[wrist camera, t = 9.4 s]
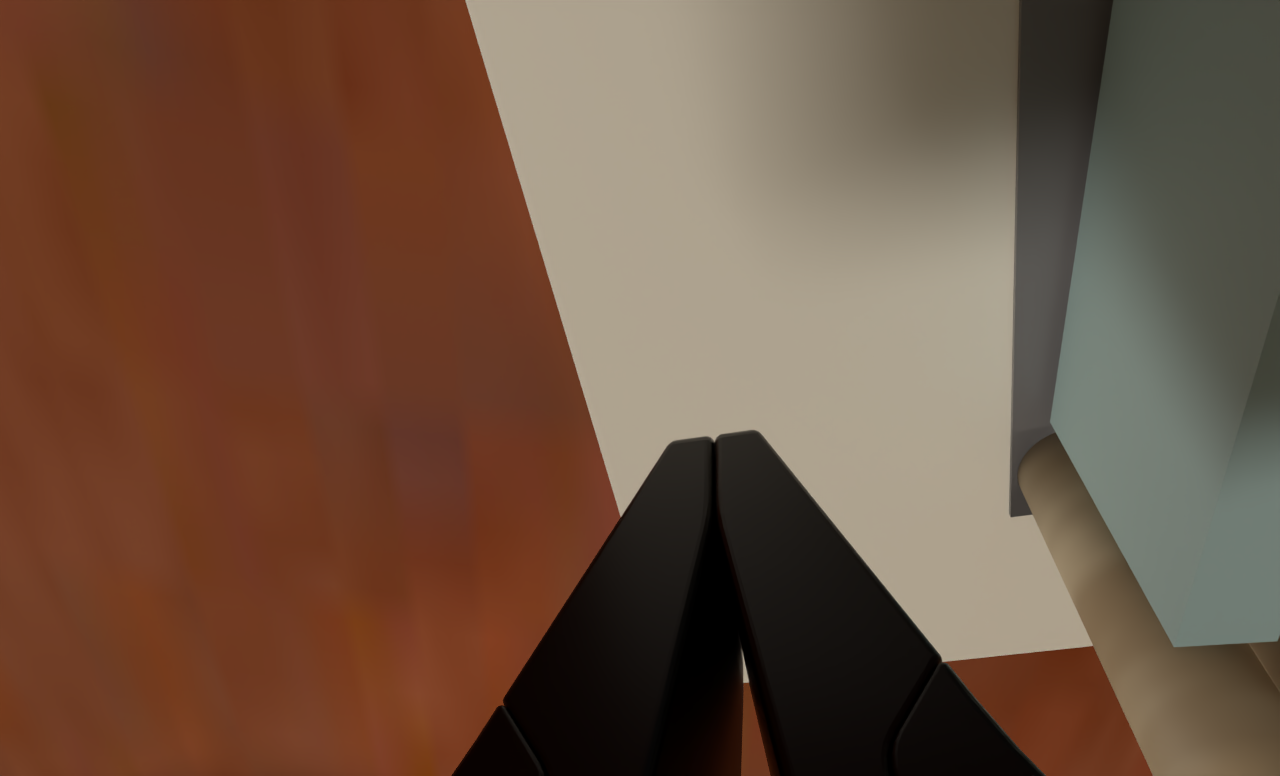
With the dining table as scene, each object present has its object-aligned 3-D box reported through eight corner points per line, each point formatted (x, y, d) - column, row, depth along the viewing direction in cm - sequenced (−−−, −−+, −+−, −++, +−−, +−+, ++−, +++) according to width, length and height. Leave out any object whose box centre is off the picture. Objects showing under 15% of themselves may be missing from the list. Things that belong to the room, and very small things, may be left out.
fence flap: (1145, 414, 15) (1353, 710, 10) (1030, 423, 15) (1185, 719, 11) (1361, -557, 9) (2150, -903, 4) (1159, -520, 9) (1688, -809, 4)
